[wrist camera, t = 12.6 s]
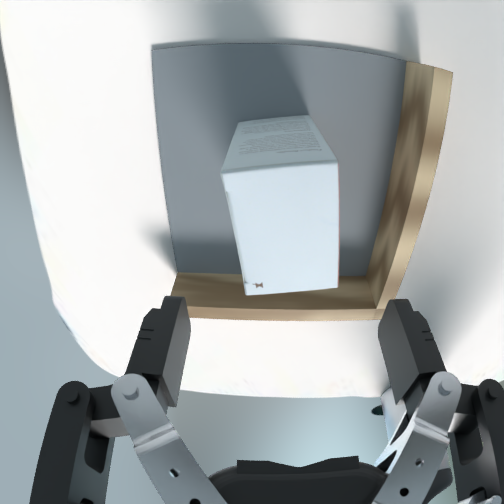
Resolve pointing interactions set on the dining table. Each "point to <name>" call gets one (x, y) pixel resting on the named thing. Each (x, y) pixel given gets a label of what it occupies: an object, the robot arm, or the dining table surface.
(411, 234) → the corner walls
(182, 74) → the mat
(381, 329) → the robot arm
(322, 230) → the small box
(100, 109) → the dining table surface
